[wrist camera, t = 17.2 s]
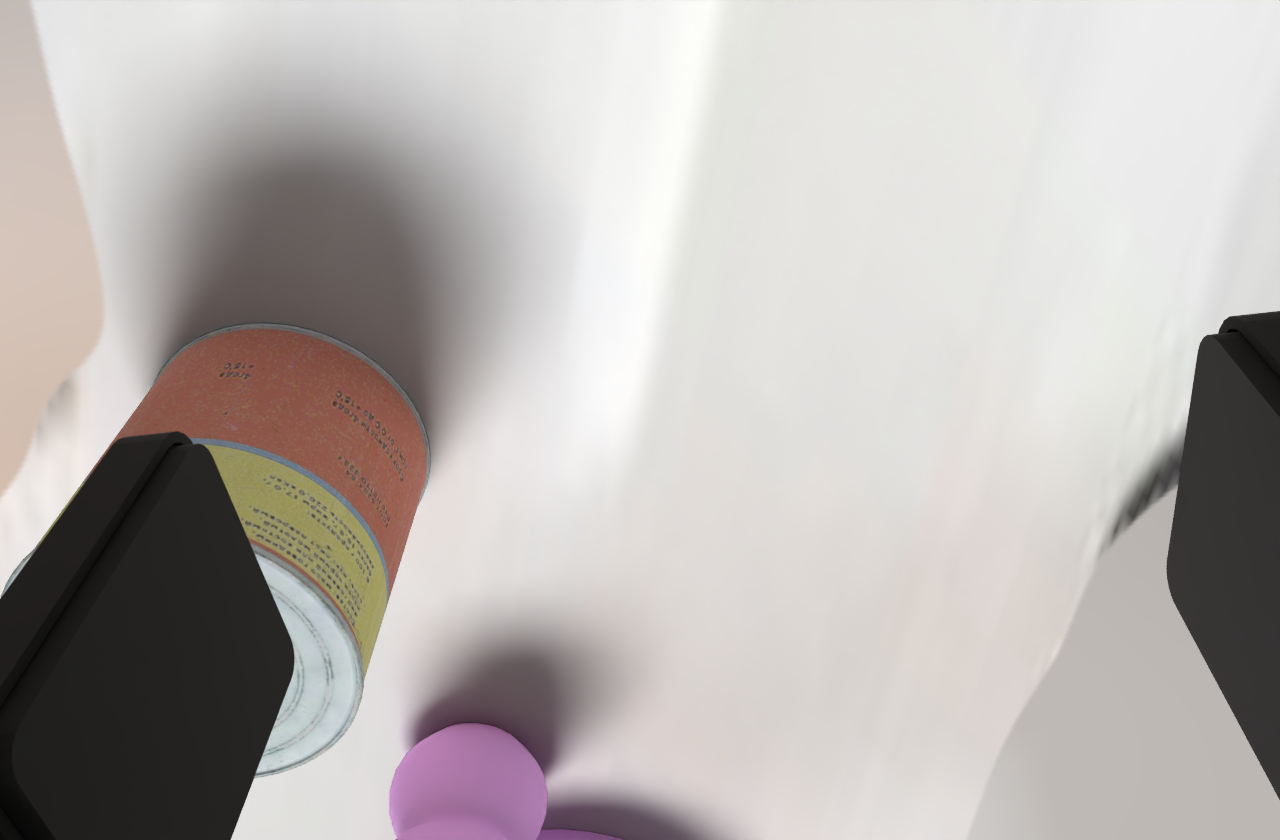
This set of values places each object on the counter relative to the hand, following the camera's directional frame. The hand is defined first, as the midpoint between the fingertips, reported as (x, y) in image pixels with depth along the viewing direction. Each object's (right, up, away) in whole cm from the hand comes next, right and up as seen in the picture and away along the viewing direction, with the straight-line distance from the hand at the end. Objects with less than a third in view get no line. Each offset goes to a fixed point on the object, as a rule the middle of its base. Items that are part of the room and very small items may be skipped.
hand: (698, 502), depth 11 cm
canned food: (-15, 0, +35) cm, 38 cm away
